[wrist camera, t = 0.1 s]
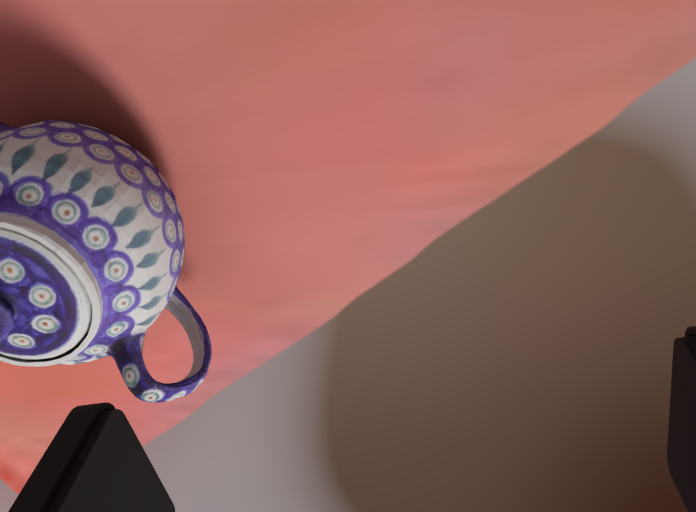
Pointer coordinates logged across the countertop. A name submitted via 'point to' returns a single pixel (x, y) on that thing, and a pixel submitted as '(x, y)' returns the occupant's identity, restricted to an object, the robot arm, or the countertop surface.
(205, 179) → the countertop surface
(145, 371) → the teapot
